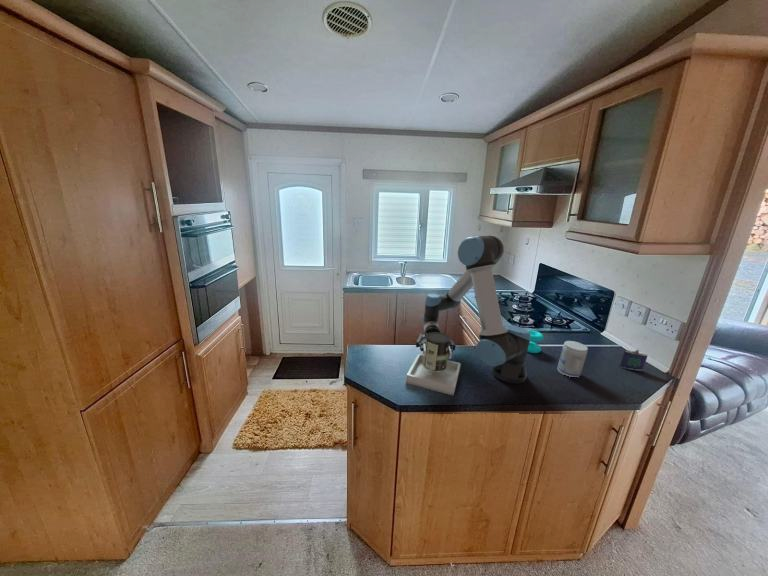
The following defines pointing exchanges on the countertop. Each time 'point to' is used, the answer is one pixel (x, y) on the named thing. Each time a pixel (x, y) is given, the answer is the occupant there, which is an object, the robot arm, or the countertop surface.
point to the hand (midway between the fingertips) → (437, 354)
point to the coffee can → (436, 351)
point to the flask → (633, 360)
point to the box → (434, 376)
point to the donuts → (535, 337)
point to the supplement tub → (572, 359)
